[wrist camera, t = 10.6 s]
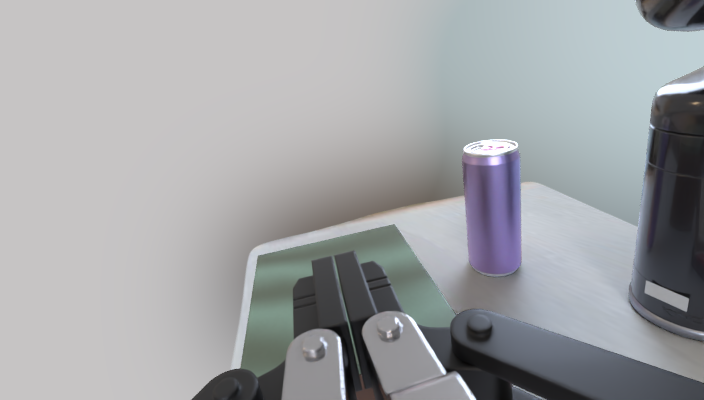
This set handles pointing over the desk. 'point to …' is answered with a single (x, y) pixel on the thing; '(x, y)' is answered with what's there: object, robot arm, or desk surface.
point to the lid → (372, 245)
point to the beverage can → (493, 206)
